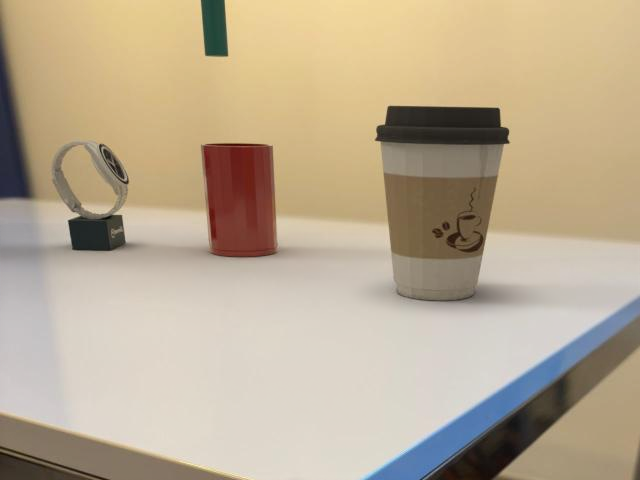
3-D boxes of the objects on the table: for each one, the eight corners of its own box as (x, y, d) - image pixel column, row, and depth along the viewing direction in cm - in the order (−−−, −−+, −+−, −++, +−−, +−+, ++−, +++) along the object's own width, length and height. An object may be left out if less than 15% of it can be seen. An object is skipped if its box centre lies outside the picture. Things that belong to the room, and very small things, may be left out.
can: (197, 250, 89) (187, 143, 84) (252, 243, 94) (246, 142, 89) (234, 259, 84) (226, 147, 79) (290, 252, 89) (286, 145, 84)
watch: (127, 250, 88) (113, 143, 83) (56, 249, 88) (38, 141, 83) (142, 242, 93) (129, 140, 88) (75, 241, 93) (58, 139, 88)
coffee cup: (421, 311, 64) (429, 106, 57) (349, 286, 72) (348, 105, 65) (524, 297, 70) (542, 108, 63) (446, 275, 78) (455, 106, 71)
